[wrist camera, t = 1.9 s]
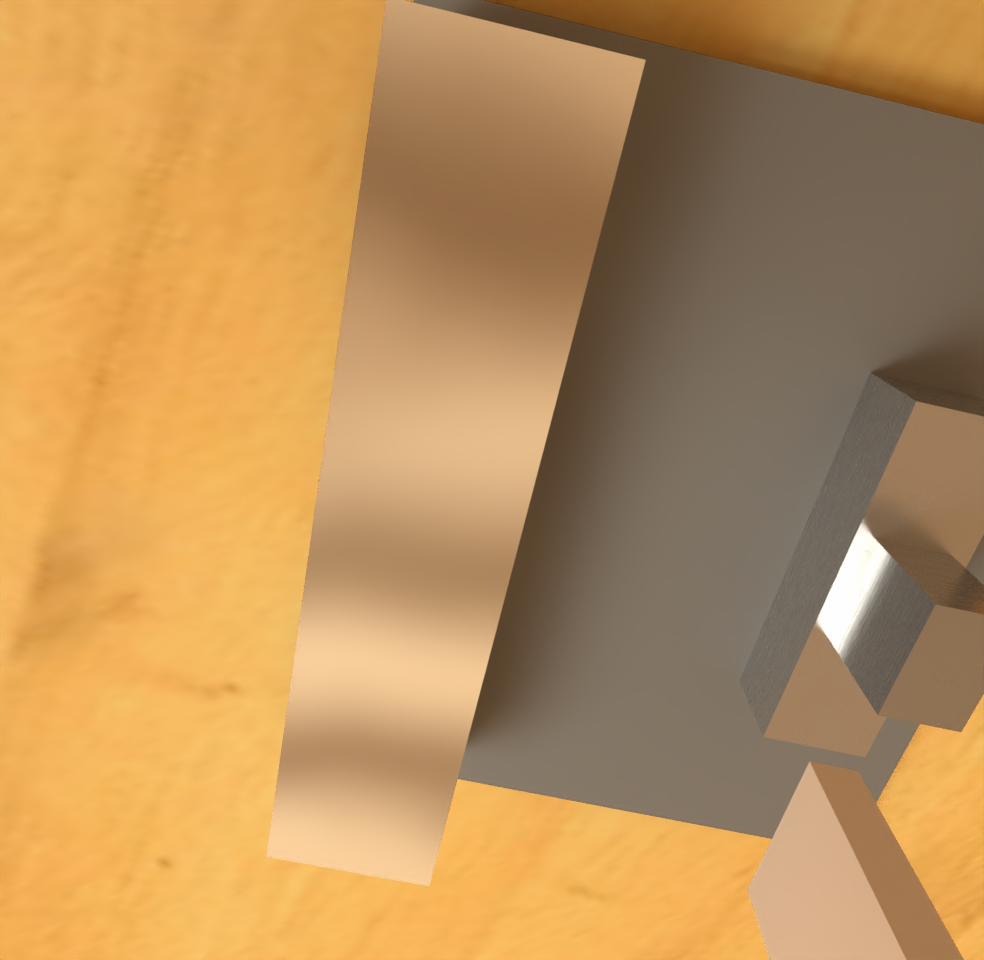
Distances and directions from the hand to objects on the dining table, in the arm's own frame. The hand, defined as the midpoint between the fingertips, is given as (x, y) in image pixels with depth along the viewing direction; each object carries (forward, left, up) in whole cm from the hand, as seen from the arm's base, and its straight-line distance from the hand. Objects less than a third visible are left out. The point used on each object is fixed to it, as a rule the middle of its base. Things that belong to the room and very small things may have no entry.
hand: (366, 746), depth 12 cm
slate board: (0, +7, -12) cm, 14 cm away
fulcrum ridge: (0, +12, -12) cm, 17 cm away
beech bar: (0, 0, -11) cm, 11 cm away
